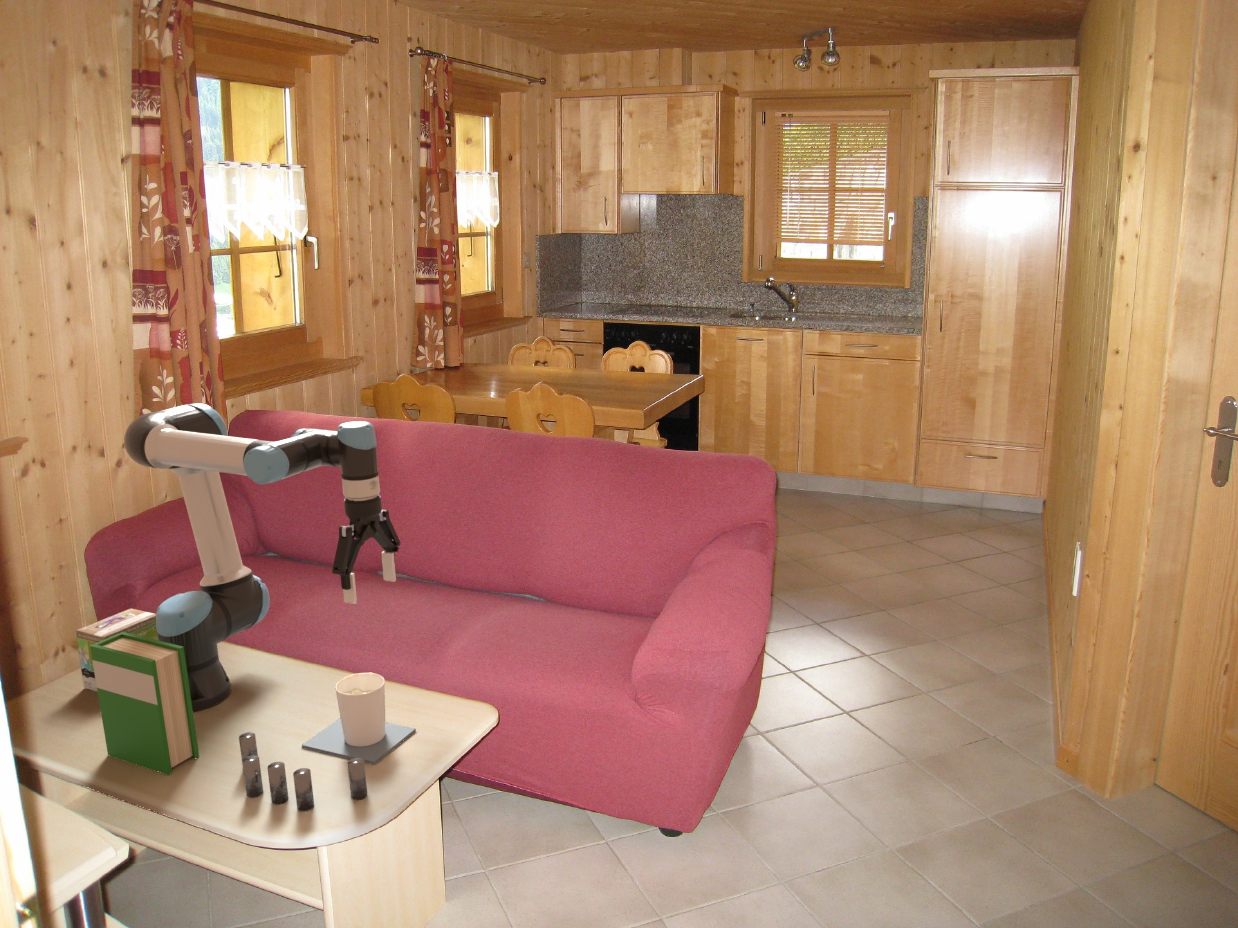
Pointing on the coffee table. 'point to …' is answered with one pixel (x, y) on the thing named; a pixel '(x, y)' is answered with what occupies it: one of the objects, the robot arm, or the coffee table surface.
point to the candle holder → (362, 708)
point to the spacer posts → (300, 776)
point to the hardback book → (145, 701)
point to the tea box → (106, 628)
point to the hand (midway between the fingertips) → (370, 591)
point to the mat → (335, 744)
